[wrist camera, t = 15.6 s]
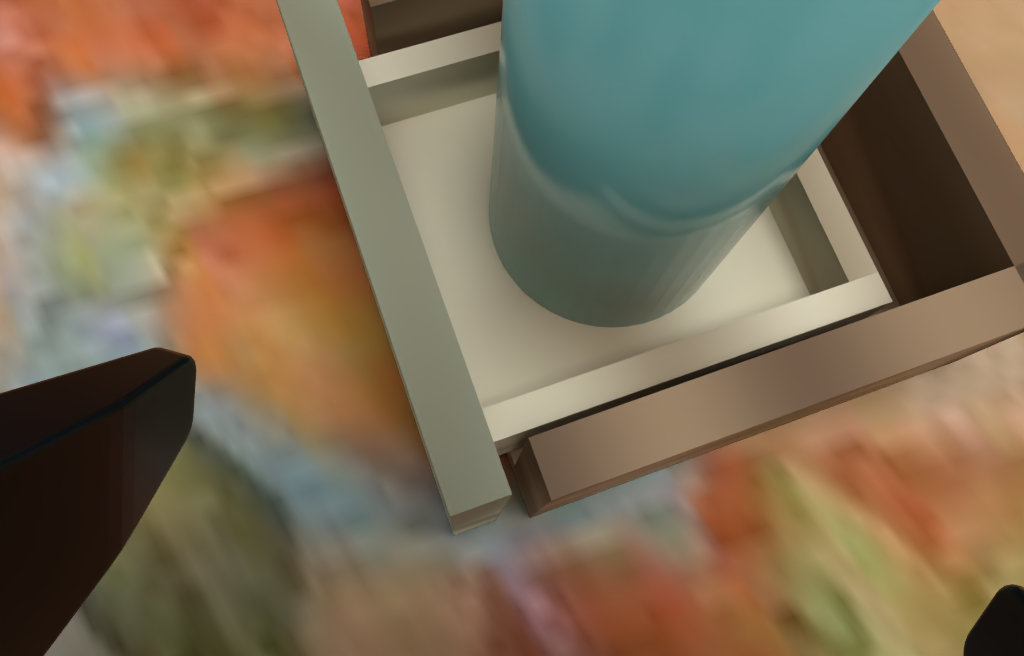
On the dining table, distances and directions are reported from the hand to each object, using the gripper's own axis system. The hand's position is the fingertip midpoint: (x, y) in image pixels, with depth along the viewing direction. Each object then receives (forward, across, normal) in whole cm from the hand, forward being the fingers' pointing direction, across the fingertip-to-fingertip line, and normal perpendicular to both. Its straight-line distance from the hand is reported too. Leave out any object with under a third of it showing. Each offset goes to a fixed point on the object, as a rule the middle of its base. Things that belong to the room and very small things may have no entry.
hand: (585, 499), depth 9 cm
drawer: (+13, +1, +2) cm, 13 cm away
